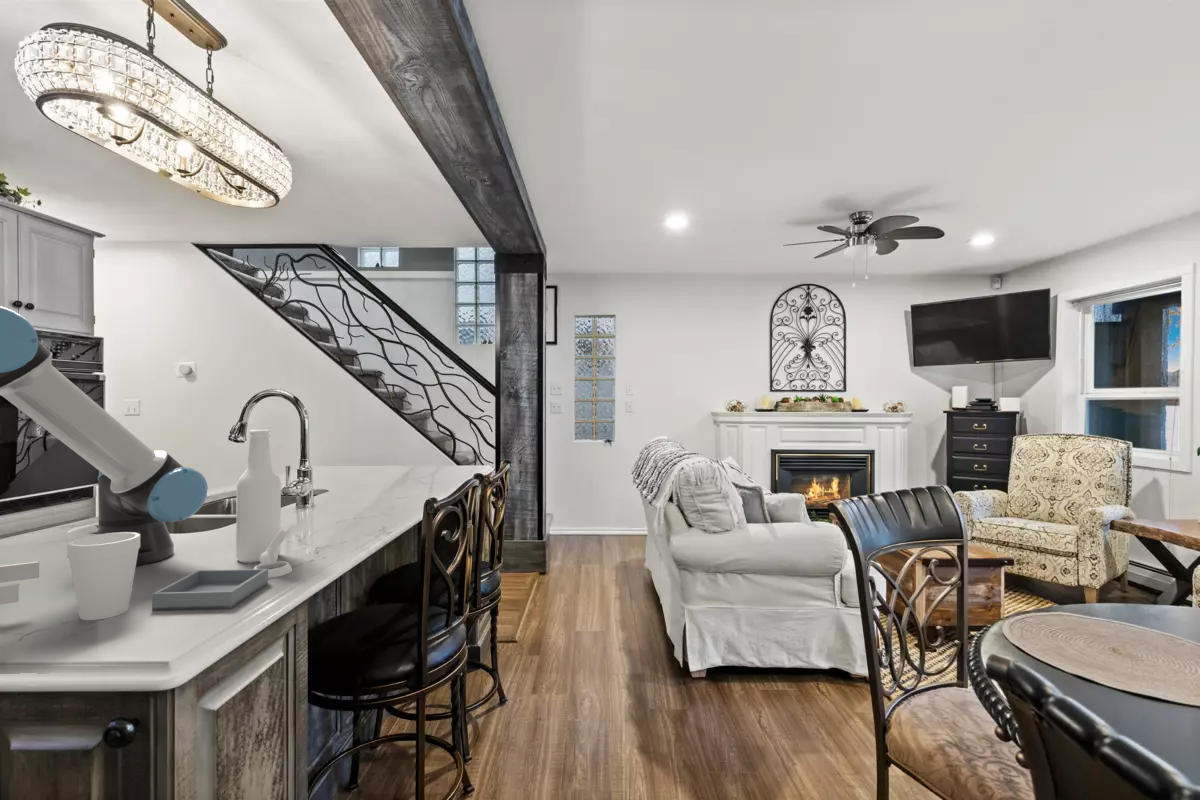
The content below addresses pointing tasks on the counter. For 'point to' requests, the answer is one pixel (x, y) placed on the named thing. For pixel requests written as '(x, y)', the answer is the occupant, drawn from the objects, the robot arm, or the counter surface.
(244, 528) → the alcohol
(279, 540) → the hook
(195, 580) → the tray
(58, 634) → the counter surface
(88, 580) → the foam cup
